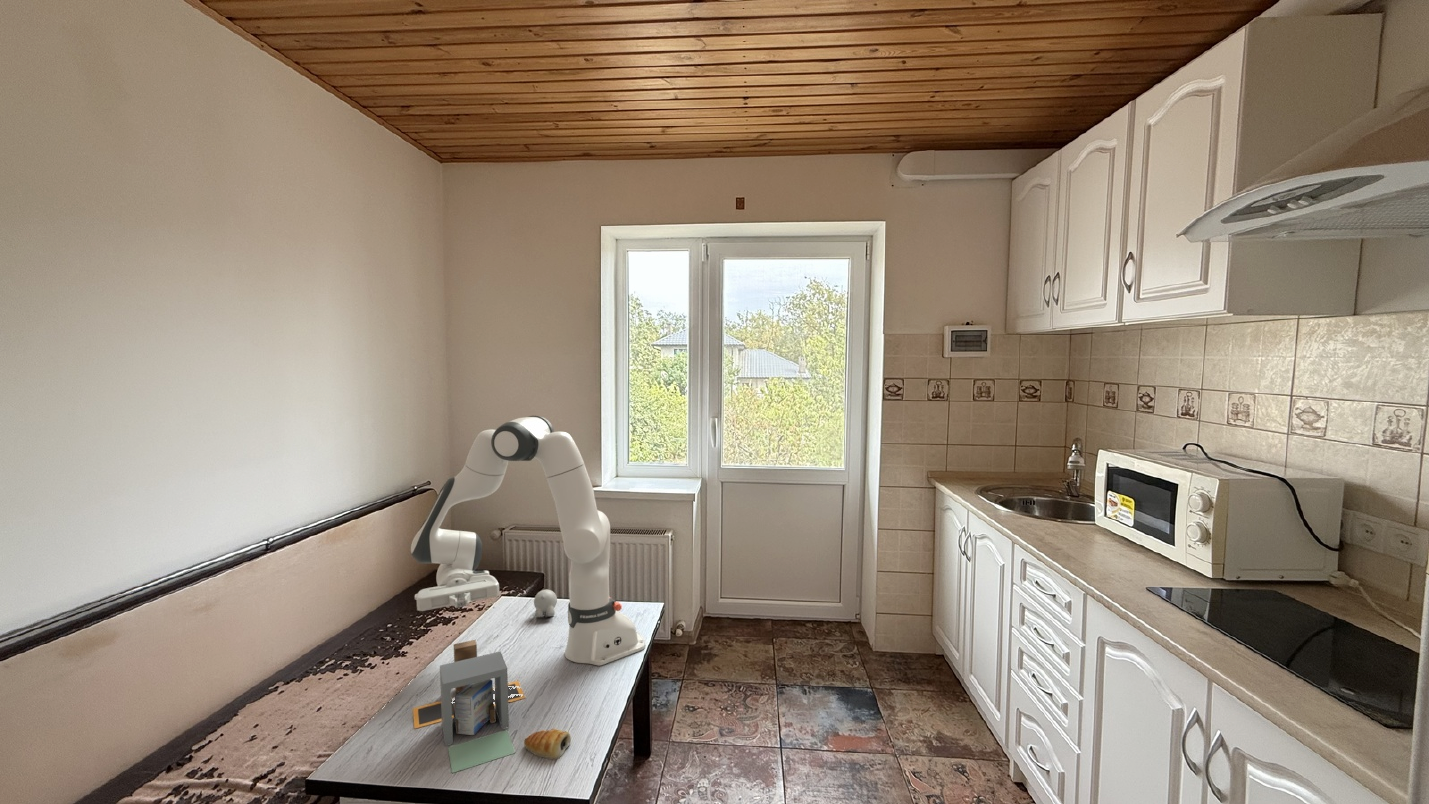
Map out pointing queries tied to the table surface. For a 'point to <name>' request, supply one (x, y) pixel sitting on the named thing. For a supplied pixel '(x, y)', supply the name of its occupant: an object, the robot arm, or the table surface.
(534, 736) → the pastry
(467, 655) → the block
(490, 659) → the tunnel
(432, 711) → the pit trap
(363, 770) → the table surface
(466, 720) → the medicine box
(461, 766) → the pad
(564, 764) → the table surface
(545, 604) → the round bodied animal figurine
